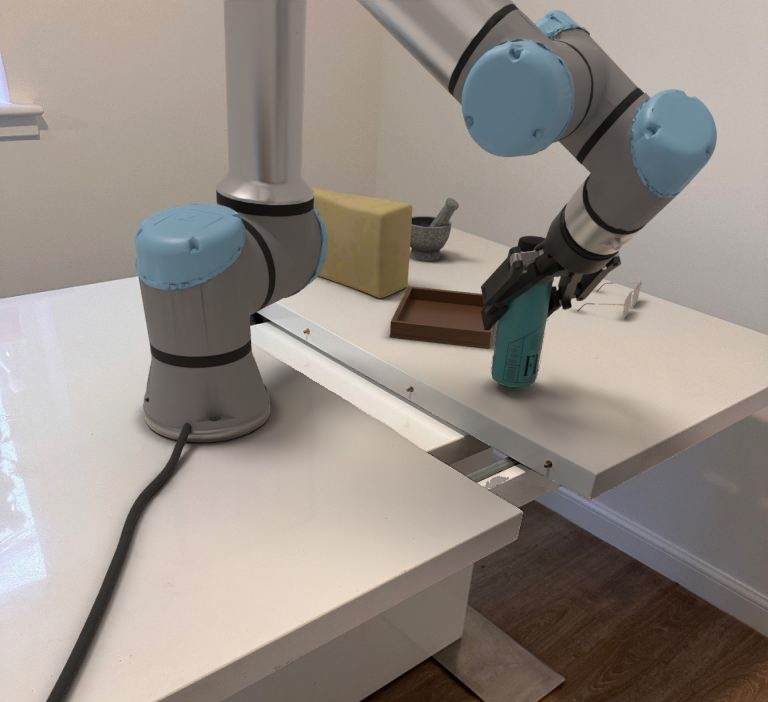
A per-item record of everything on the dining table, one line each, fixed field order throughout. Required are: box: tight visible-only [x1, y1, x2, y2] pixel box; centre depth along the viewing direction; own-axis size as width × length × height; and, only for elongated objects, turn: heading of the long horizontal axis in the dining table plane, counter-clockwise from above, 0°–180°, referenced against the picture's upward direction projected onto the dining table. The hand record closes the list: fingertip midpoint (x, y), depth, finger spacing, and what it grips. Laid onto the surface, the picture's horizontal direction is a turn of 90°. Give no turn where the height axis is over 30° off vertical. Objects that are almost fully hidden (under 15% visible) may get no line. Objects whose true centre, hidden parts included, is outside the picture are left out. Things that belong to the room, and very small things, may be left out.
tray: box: [389, 285, 494, 349], centre depth 118 cm, size 18×16×3 cm
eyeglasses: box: [576, 279, 643, 319], centre depth 128 cm, size 14×8×4 cm, turn 151°
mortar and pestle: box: [409, 197, 460, 262], centre depth 145 cm, size 11×9×12 cm
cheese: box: [310, 186, 413, 299], centre depth 129 cm, size 22×10×15 cm, turn 56°
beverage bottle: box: [489, 235, 555, 388], centre depth 94 cm, size 6×7×20 cm
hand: (510, 319), depth 97 cm, fingers closed on beverage bottle, 6 cm apart
